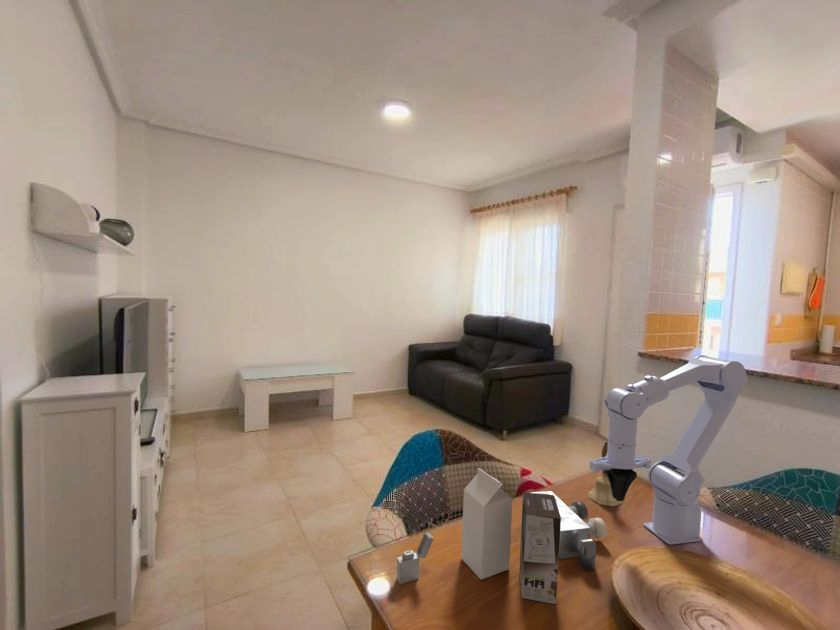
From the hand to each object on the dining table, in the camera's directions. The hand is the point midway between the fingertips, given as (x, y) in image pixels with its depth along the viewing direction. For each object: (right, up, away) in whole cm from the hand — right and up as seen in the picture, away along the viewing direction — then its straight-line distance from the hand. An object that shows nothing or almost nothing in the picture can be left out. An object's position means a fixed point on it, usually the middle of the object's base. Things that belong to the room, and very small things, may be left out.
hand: (618, 499), depth 92 cm
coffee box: (-23, -10, -15) cm, 29 cm away
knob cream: (-8, -8, -1) cm, 11 cm away
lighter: (-47, -9, -14) cm, 50 cm away
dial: (-11, -10, -9) cm, 17 cm away
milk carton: (-33, -9, -10) cm, 35 cm away
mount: (-14, -9, +1) cm, 17 cm away
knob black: (-9, -8, +6) cm, 13 cm away
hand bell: (+5, -9, +19) cm, 21 cm away
